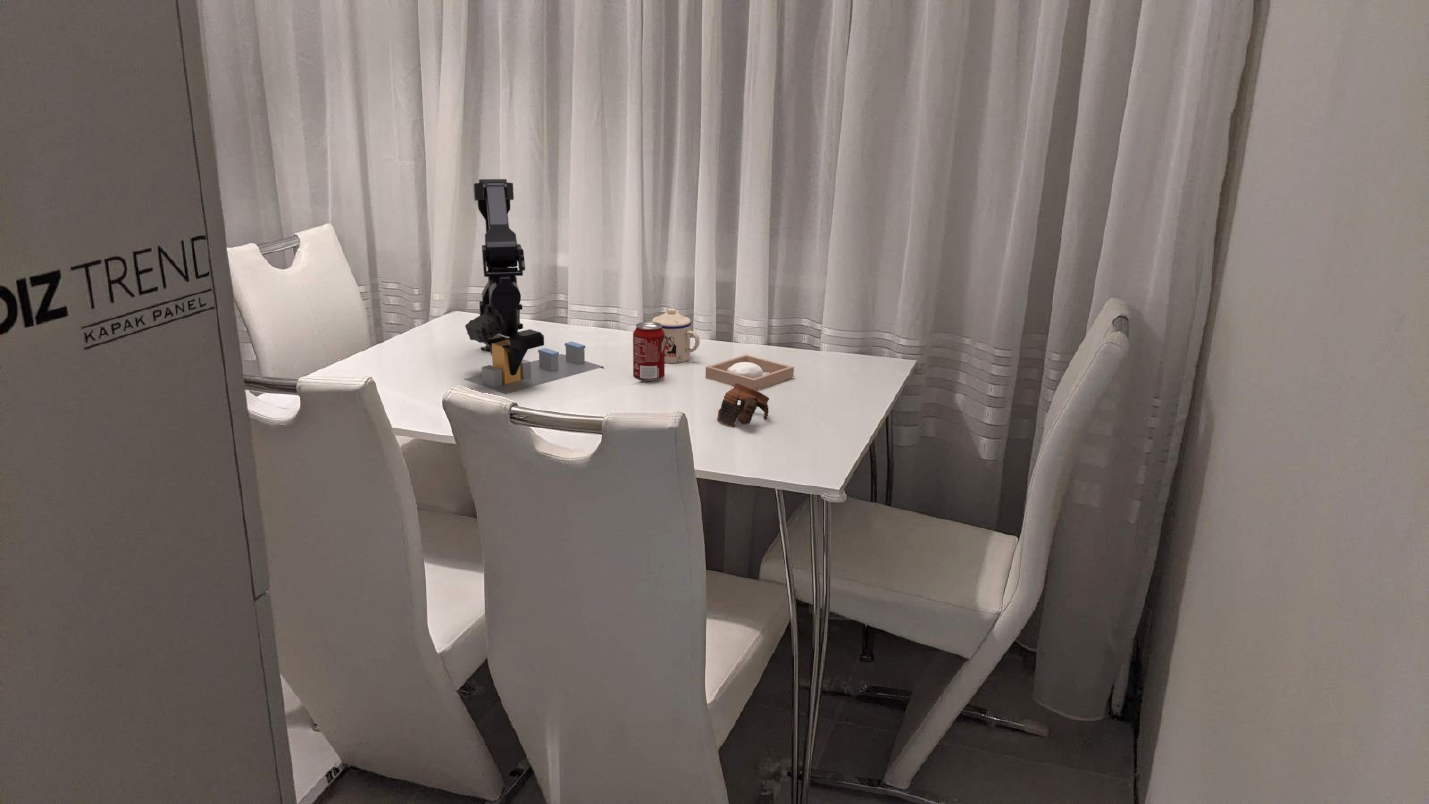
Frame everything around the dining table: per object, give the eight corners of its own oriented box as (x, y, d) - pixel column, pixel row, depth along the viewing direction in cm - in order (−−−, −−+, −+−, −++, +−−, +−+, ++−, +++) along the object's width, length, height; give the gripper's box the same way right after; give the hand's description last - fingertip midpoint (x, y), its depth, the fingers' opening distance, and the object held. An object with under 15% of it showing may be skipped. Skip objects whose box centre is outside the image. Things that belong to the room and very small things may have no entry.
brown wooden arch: (708, 417, 209) (726, 379, 210) (750, 436, 212) (768, 398, 212) (723, 422, 198) (741, 381, 198) (767, 442, 200) (785, 402, 200)
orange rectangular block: (493, 380, 224) (491, 343, 221) (508, 376, 227) (507, 339, 224) (505, 384, 221) (503, 347, 219) (520, 380, 224) (519, 343, 222)
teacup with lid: (643, 359, 244) (643, 310, 240) (665, 350, 251) (666, 302, 248) (687, 368, 238) (688, 317, 234) (709, 359, 246) (710, 309, 242)
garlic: (738, 387, 227) (738, 370, 226) (719, 379, 232) (719, 362, 231) (767, 381, 231) (768, 364, 230) (748, 373, 236) (749, 357, 235)
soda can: (660, 384, 227) (660, 330, 223) (629, 382, 228) (629, 327, 224) (667, 375, 233) (668, 322, 229) (637, 373, 234) (637, 320, 230)
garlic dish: (705, 377, 232) (705, 366, 231) (745, 365, 242) (745, 354, 241) (753, 391, 223) (754, 380, 223) (793, 377, 233) (793, 366, 232)
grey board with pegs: (463, 383, 224) (462, 360, 223) (561, 358, 244) (561, 336, 242) (505, 398, 216) (504, 374, 214) (603, 370, 235) (603, 348, 233)
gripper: (443, 298, 219) (448, 371, 224) (500, 314, 207) (503, 391, 212) (487, 290, 227) (491, 360, 232) (544, 305, 215) (547, 379, 220)
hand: (506, 372), depth 224 cm, fingers closed on orange rectangular block, 4 cm apart
